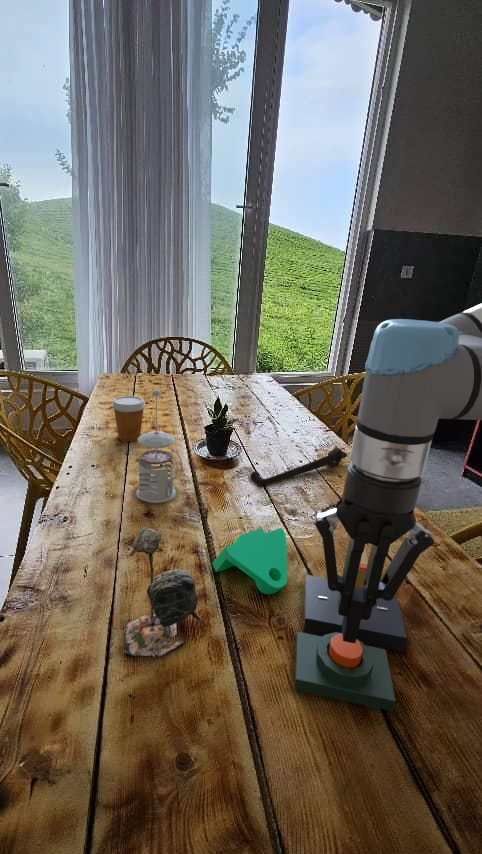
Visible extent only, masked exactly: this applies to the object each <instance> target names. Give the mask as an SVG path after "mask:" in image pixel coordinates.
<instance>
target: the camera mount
mask: <svg viewBox="0 0 482 854" xmlns="http://www.w3.org/2000/svg"><path fill="white" fill-rule="evenodd" d="M287 553H288V552H287V534H286V533H285V531H284V529H283V527H279V528H276V529H273V530H269V531H267V532H265V530H264V528H263V527H260V528H255V529H253V530H251V531H247V532H244V533H241V534H239V536H238V537H237V538H236V540H235V541H234V542H233V543H232V544H229V545H225V546H224V547H223V549H222V550H221V551H220V553H219V554H218V555H217V557H216V558H215V559H214V561H213V562H212V564H211V566H212V567H213V569H214V572H215V573H219V572H222V571H225V570H227V569H230V568H232V567H233V568H234V567H236V568H237V569H239V570H240V571H242V572H243V573H245V574H246V575H247V576H249V577H250V578H251V579H253V580H254V583H255V586H256V588H257V589H258V591H259V592H260V593H262V594H264V595H274V594H276V593H278V592H279V591H280V590H281V589H282V588H283V587H284V586H286V584H287V582H288V555H287Z"/></svg>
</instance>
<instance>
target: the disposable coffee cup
mask: <svg viewBox="0 0 482 854" xmlns="http://www.w3.org/2000/svg"><path fill="white" fill-rule="evenodd" d="M111 405H112V409H113V412H114V417H115V424H116V429H117V435H118V440H120V441H122V442H135V441H138V438H139V437H140V436H141V435H142V425H143V417H144V408H145V406H146V403H145V401H144V398H142V397H140V396H137V395H136V396H135V395H122V396H117V397H116V398H114V399H113V401H112V404H111Z"/></svg>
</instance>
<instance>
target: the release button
mask: <svg viewBox="0 0 482 854" xmlns="http://www.w3.org/2000/svg"><path fill="white" fill-rule="evenodd" d="M362 652H363V649H362V646H361V644H360V643H359V641H358V640H356V643H350V642H345V641H343V635H342V634H337V635H335V636H333V637H332V639H331V642H330V647H329V655H330V657H331V659H332V660H333V661H334V662H335V663H336V664H338V665H339V666H341V667H344V668H355V667H357V666H358V665H359V664H360V661H361V657H362Z"/></svg>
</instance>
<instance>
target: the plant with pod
mask: <svg viewBox="0 0 482 854" xmlns="http://www.w3.org/2000/svg"><path fill="white" fill-rule="evenodd" d="M162 537H163V536H162V532H161V531H157V530H155V529H153V528H151V527H147V526H142V527H139V530H138V531H137V535H136V537H135V538H134V540H133V542H132V544H131V545H132V548H133V549H132V550H131V553H129V557H133V556H135V554H136V553H144V554H146V555H148V562H149V569H150V581H149V583H148V585H147V589H146V594H147V596H148V598H149V603H150V607H151V608H150V614H145V615H141V616H139V617H138V618H137V619H134V620H132V621H129V622H128V623H127V625H125V626H124V629H123V631H125V632H124V635H125V639H124V644H125V646H124V649H125V650H123V652H124V653H125V654H127V655H129V656H134V657H135V656H138V657H142V656H143V657H144V656H145V657H148V656H149V657H151V656H152V657H153V658H156V657H157V658H159V657H162V656H163V655H166V653H168V652H170V651H171V650H174V649H176V648H178V646H180V645H183V644H184V643H185V641H186V640H182V641H176V642H175V643H174V644H172V641H171V640H172V639H173V638H174V637H175V636H176V635H177V634H178V632H177V631H178V630H177V623H182V622H184V621H185V620H187V619H188V617H190V615H191V616H192V617H193V618H194V619H195V620H197V621H199V622H202V617H201V616H200V615H198V614H197V613H196V612H195V611H196V610H197V606H198V604H199V602H198V595H197V590H196V584H195V579H194V578H192V576H191V575H190V572H189V571H187V570H184V569H180V568H179V569H171V570H167V571H163V572H161V573H160V574H157V575H156V577H155V576H154V575H155V573H154V571H155V570H154V556H153V555H154V554H155V553H156V552H157V550H158V549H159V547H160V543H161V540H162ZM167 646H170V647H168V648H165V647H167Z"/></svg>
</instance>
